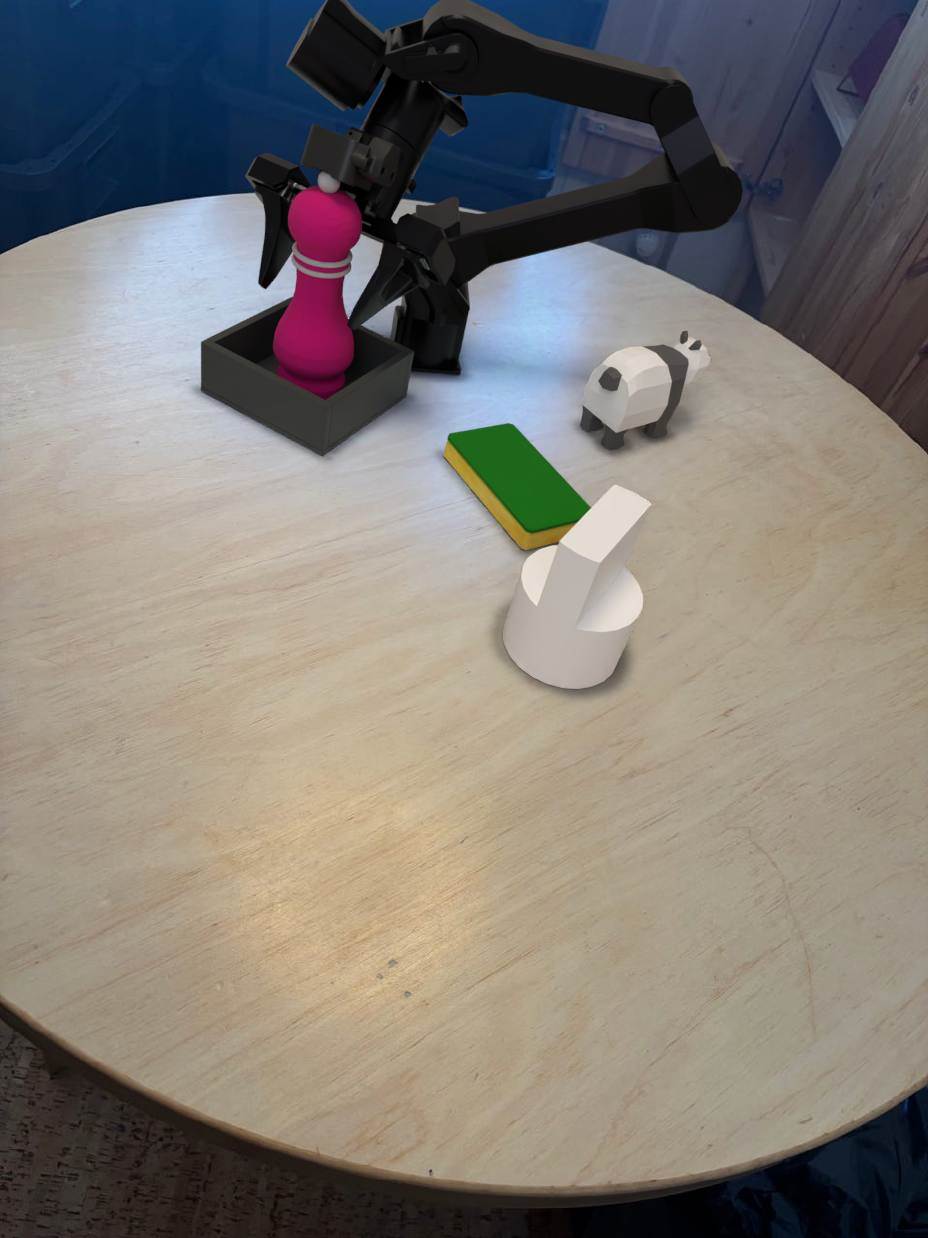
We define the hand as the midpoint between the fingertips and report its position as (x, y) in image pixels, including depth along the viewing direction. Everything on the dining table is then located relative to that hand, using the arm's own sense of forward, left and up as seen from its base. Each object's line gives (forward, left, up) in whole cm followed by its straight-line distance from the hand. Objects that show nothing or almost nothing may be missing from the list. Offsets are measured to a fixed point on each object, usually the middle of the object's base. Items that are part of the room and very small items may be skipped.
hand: (305, 306), depth 81 cm
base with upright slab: (-18, +30, -9) cm, 37 cm away
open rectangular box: (-1, -1, -9) cm, 9 cm away
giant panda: (-33, 0, -9) cm, 35 cm away
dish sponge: (-18, +12, -9) cm, 24 cm away
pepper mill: (-1, -1, -9) cm, 9 cm away
